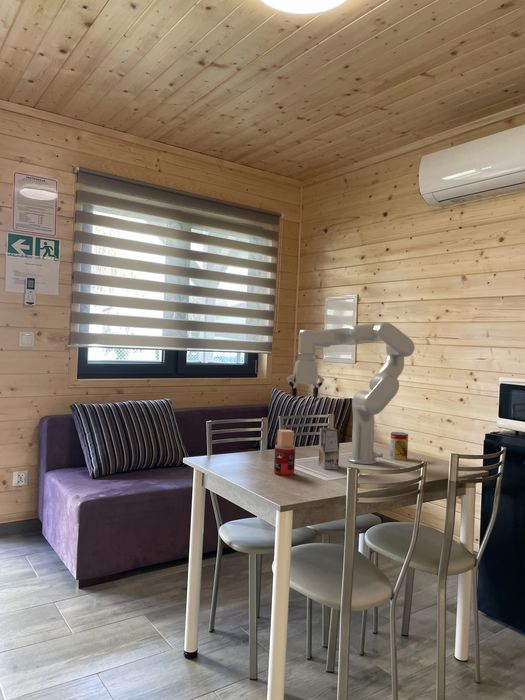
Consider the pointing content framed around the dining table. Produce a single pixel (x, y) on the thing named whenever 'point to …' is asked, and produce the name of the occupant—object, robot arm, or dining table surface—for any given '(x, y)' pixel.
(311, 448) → the dining table surface
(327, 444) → the coffee box
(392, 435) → the canned food
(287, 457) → the canned food
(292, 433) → the block
